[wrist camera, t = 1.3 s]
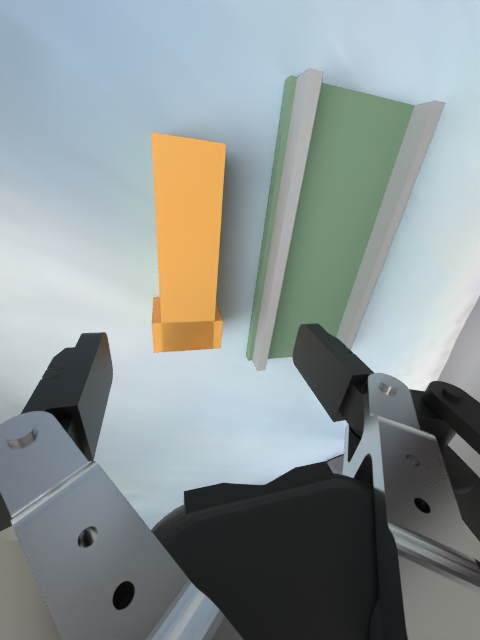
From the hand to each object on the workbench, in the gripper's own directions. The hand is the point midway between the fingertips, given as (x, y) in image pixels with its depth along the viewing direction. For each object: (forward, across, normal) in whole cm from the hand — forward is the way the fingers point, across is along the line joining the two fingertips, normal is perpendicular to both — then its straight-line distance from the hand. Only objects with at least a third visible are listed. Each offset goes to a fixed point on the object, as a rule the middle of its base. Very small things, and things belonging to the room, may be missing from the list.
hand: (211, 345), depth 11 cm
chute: (+15, 0, 0) cm, 16 cm away
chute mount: (+15, -14, 0) cm, 21 cm away
